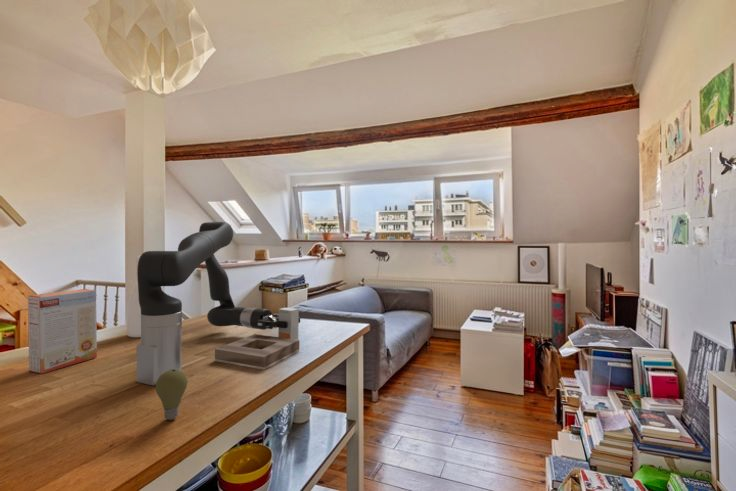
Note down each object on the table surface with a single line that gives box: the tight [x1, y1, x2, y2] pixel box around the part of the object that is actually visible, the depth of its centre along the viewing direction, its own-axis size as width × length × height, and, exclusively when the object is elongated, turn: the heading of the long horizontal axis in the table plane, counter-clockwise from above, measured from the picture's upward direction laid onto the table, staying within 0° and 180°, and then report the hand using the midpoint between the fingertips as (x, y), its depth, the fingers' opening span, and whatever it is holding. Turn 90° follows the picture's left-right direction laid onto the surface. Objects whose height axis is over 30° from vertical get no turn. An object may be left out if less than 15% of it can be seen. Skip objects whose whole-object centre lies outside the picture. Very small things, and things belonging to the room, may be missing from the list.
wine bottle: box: [126, 255, 141, 338], centre depth 130 cm, size 10×10×30 cm
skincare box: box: [277, 307, 300, 340], centre depth 123 cm, size 6×4×12 cm
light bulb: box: [155, 369, 188, 421], centre depth 69 cm, size 6×6×10 cm
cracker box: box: [27, 288, 98, 375], centre depth 99 cm, size 14×6×21 cm, turn 160°
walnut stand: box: [214, 333, 300, 371], centre depth 108 cm, size 18×18×4 cm
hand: (293, 322), depth 122 cm, fingers open, 7 cm apart
